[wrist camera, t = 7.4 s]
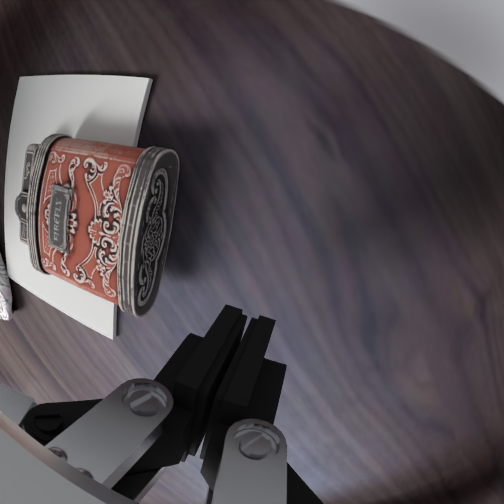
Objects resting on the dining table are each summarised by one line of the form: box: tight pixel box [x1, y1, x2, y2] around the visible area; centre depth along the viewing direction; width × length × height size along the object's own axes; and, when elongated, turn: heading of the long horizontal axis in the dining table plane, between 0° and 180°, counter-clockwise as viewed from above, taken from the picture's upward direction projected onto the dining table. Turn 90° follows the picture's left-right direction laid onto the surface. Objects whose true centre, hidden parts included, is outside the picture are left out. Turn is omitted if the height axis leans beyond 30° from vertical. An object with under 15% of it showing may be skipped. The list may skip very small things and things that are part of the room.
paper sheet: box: [4, 75, 153, 340], centre depth 17 cm, size 12×16×1 cm
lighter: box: [15, 133, 179, 317], centre depth 14 cm, size 8×3×10 cm
